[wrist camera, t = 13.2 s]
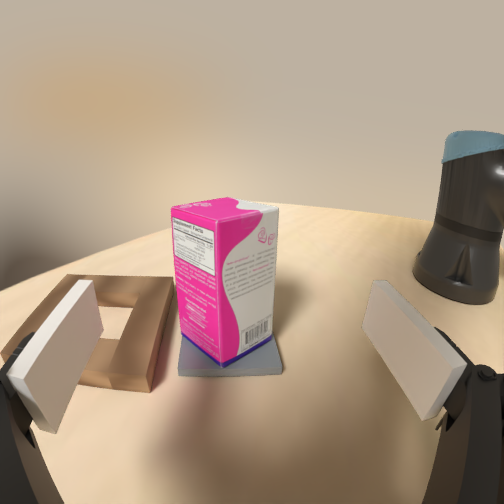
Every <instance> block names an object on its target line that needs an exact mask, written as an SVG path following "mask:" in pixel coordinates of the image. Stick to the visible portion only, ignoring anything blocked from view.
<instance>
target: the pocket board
mask: <svg viewBox="0 0 504 504" xmlns="http://www.w3.org/2000/svg"><path fill="white" fill-rule="evenodd" d="M78 280H93V284H94V289H95V294H96V299H97V304H98V306H110V307H131V308H133V310H132V312H131V315H130V317H129V319H128V322H127V324H126V326H125V329H124V331H123V333H122V336H121V338H120V340H116V339H104V338H99V340H98V342H97V344H96V346H95V348H94V350H93V352H92V354H91V356H90V358H89V360H88V362H87V364H86V366H85V368H84V371H83V373H82V375H81V377H80V379H79V381H78V384H80V385H86V386H93V387H100V388H107V389H115V390H125V391H135V392H146V393H150V390H151V386H152V381H153V376H154V372H155V367H156V362H157V358H158V354H159V349H160V345H161V341H162V337H163V332H164V328H165V324H166V320H167V316H168V312H169V308H170V305H171V301H172V297H173V293H174V283H173V277H150V276H104V275H72V274H67V275H66V276H65V277H64V278H63V279H62V280H61V281H60V282H59V284H58V285H57V286H56V287H55V288H54V289H53V290H52V291H51V292H50V293H49V294H48V296H47V297H46V298H45V299H44V300H43V301H42V302H41V303H40V305H39V306H38V307H37V308H36V309H35V310H34V311H33V313H32V314H31V315H30V316H29V317H28V318H27V320H26V321H25V322H24V323H23V324H22V326H21V327H20V328H19V329H18V331H17V332H16V333H15V334H14V336H13V337H12V338H11V339H10V341H9V342H8V343H7V344H6V346H5V347H4V348H3V350H2V351H1V352H0V354H1V356H2V358H3V360H4V362H6V361H7V360H8V358H9V357H10V356H11V355H12V354H13V351H14V350H15V349H16V348H17V346H18V345H19V343H20V342H21V341H22V339H23V338H24V337H26V336H27V335H29V334H30V333H31V332H37V330H38V329H39V328H40V326H41V325H42V324H43V323H44V321H45V320H46V319H47V318H48V316H49V315H50V314H51V312H52V311H53V310H54V309H55V307H56V306H57V305H58V304H59V303H60V301H61V300H62V299H63V298H64V297H65V295H66V294H67V293H68V292H69V291H70V289H71V288H72V287H73V286H74V285H75V284H76V282H77V281H78Z"/></svg>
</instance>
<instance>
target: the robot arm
mask: <svg viewBox="0 0 504 504" xmlns="http://www.w3.org/2000/svg"><path fill="white" fill-rule="evenodd" d="M442 164H443V167H442V176H441V184H440V192H439V197H438V203H437V209H436V216H435V221H434V225H433V228H432V230H431V232H430V234H429V236H428V238H427V240H426V242H425V244H424V246H423V248H422V250H421V251H420V252H419V253H418V255H417V256H416V259H415V264H414V268H413V274H414V276H415V277H416V278H417V280H418V281H419V282H421V283H422V284H423V285H424V286H426V287H427V288H429V289H430V290H432V291H434V292H436V293H438V294H440V295H442V296H444V297H447V298H450V299H452V300H456V301H459V302H463V303H469V304H486V303H489V302H491V301H492V300H493V299H494V297H495V294H496V291H497V288H498V285H499V248H500V242H501V238H502V233H503V229H504V135H502V134H499V133H493V132H486V131H457V132H453V133H451V134H450V135H449V136H448V137H447V139H446V141H445V149H444V156H443V159H442ZM361 328H362V329H363V331H364V332H365V334H366V335H367V337H368V338H369V340H370V341H371V343H372V344H373V346H374V347H375V349H376V350H377V352H378V353H379V355H380V356H381V358H382V359H383V361H384V362H385V364H386V365H387V367H388V368H389V370H390V371H391V373H392V374H393V376H394V377H395V379H396V381H397V382H398V384H399V385H400V387H401V388H402V390H403V392H404V393H405V395H406V396H407V398H408V399H409V401H410V403H411V404H412V406H413V407H414V409H415V411H416V412H417V414H418V416H419V417H420V419H421V420H422V421H425V420H428V419H430V418H433V417H436V416H437V415H438V413H439V412H440V410H441V409H442V407H443V406H444V407H445V409H446V410H447V412H446V413H445V415H444V416H443V418H442V419H441V421H440V422H439V424H438V425H437V427H436V429H435V430H438V429H439V427H440V426H441V425H442V428H441V434H440V439H439V443H438V448H437V452H436V457H435V461H434V465H433V469H432V472H431V476H430V480H429V483H428V486H427V490H426V493H425V496H424V499H423V502H422V504H504V374H497V373H496V372H495V371H494V370H493V369H492V368H491V367H489V366H486V365H481V364H479V365H474V364H473V363H472V362H471V361H470V359H469V358H468V357H467V356H466V355H465V354H464V353H463V352H462V351H461V350H460V349H459V348H458V347H456V344H455V343H454V342H453V341H451V339H450V338H449V337H448V336H447V335H446V334H445V333H444V332H442V331H441V330H439V329H438V328H436V327H433V326H432V325H431V324H430V323H429V322H428V321H427V320H426V319H425V318H424V317H423V316H422V315H421V314H420V313H419V312H418V311H417V310H416V309H415V308H414V307H413V306H412V305H411V304H410V303H409V302H408V301H407V300H406V299H405V298H404V297H403V296H402V295H401V294H400V293H399V292H398V291H397V290H396V289H395V288H394V287H393V286H392V285H391V284H390V283H389V282H388V281H387V280H375V281H373V283H372V288H371V292H370V296H369V300H368V304H367V308H366V312H365V316H364V320H363V324H362V327H361ZM103 330H104V329H103V325H102V321H101V317H100V313H99V308H98V304H97V299H96V294H95V289H94V284H93V280H78V281H77V282H76V284H75V285H74V286H73V287H72V288H71V289H70V291H69V292H68V293H67V294H66V295H65V297H64V298H63V299H62V300H61V301H60V303H59V304H58V305H57V306H56V307H55V309H54V310H53V311H52V312H51V314H50V315H49V316H48V318H47V319H46V320H45V321H44V323H43V324H42V325H41V326H40V328H39V329H38V330H37V332H31V333H30V334H29V335H27V336H26V337H24V338H23V339H22V341H21V342H20V343H19V345H18V346H17V348H16V349H15V350H14V351H13V354H12V355H11V356H10V357H9V358H8V360H7V361H6V362H5V364H4V365H3V367H2V368H1V370H0V504H64V502H63V500H62V498H61V496H60V494H59V492H58V490H57V488H56V486H55V484H54V482H53V480H52V478H51V475H50V473H49V471H48V469H47V466H46V464H45V462H44V459H43V457H42V454H41V452H40V449H39V447H38V444H37V441H36V439H35V436H34V433H33V431H32V429H31V428H30V424H31V422H32V420H33V421H34V422H35V424H36V425H37V426H38V428H39V429H40V430H43V431H46V432H50V433H53V434H56V433H57V431H58V428H59V426H60V423H61V421H62V418H63V416H64V413H65V411H66V409H67V406H68V404H69V402H70V399H71V397H72V395H73V393H74V390H75V388H76V386H77V384H78V381H79V379H80V377H81V375H82V373H83V371H84V368H85V366H86V364H87V362H88V360H89V358H90V356H91V354H92V352H93V350H94V348H95V346H96V344H97V342H98V340H99V338H100V336H101V334H102V332H103Z"/></svg>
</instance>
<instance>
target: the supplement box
mask: <svg viewBox="0 0 504 504" xmlns="http://www.w3.org/2000/svg"><path fill="white" fill-rule="evenodd" d="M278 218H279V208H278V207H275V206H270V205H264V204H259V203H254V202H249V201H245V200H240V199H236V198H231V197H226V198H219V199H213V200H207V201H201V202H195V203H190V204H184V205H178V206H174V207H171V221H172V238H173V254H174V266H175V278H176V289H177V299H178V309H179V318H180V327H181V334H182V335H183V336H184V337H185V338H186V339H187V340H188V341H190V342H191V343H192V344H193V345H194V346H196V347H197V348H198V349H199V350H200V351H202V352H203V353H204V354H205V355H207V356H208V357H209V358H210V359H212V360H213V361H214V362H215V363H216V364H217V365H219V366H220V367H221V368H224V367H226V366H228V365H229V364H231V363H233V362H234V361H236V360H238V359H240V358H241V357H243V356H245V355H246V354H248V353H250V352H252V351H253V350H255V349H257V348H258V347H260V346H262V345H263V344H265V343H267V342H268V341H270V340H272V323H273V308H274V292H275V275H276V258H277V237H278Z"/></svg>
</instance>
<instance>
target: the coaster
mask: <svg viewBox="0 0 504 504" xmlns="http://www.w3.org/2000/svg"><path fill="white" fill-rule="evenodd" d="M281 373H282V364H281V360H280V356H279V353H278V349H277V345H276V342H275V338H274V335H273V331H272V340H270V341H268V342H267V343H265V344H263V345H262V346H260V347H258V348H257V349H255V350H253V351H252V352H250V353H248V354H246V355H245V356H243V357H241V358H240V359H238V360H236V361H234V362H233V363H231V364H229V365H228V366H226V367H224V368H221V367H220V366H219V365H217V364H216V363H215V362H214V361H213V360H212V359H210V358H209V357H208V356H207V355H205V354H204V353H203V352H202V351H200V350H199V349H198V348H197V347H196V346H194V345H193V344H192V343H191V342H190V341H188V340H187V339H186V338H185V337H184V336H183V335H182V341H181V348H180V355H179V362H178V374H179V376H256V375H275V374H281Z"/></svg>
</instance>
